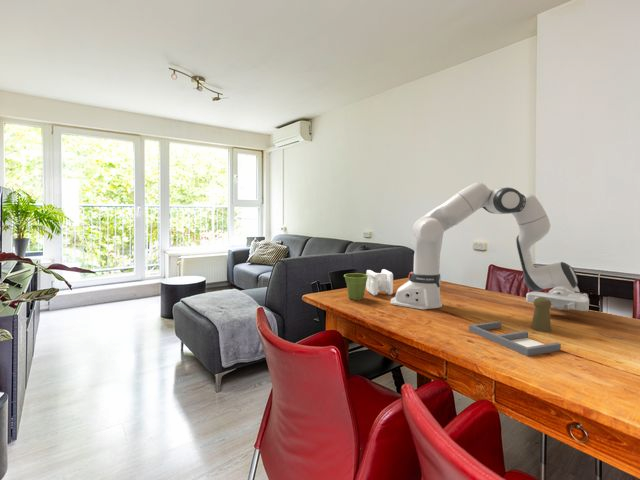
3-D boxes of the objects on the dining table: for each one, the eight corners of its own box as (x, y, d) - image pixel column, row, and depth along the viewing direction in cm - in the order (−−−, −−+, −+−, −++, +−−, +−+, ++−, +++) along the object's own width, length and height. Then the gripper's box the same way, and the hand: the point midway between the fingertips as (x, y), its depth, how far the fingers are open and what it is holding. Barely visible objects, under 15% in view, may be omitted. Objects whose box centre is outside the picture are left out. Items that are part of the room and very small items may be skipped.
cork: (527, 326, 123) (528, 296, 122) (542, 326, 124) (544, 296, 123) (539, 332, 117) (540, 300, 116) (555, 331, 118) (557, 300, 117)
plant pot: (339, 297, 167) (339, 274, 166) (360, 294, 172) (360, 272, 171) (351, 302, 156) (351, 278, 156) (373, 299, 161) (373, 276, 161)
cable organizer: (393, 296, 168) (394, 273, 167) (373, 297, 167) (373, 273, 166) (384, 290, 183) (384, 268, 182) (364, 290, 181) (365, 269, 180)
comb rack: (498, 326, 123) (498, 321, 123) (560, 350, 101) (560, 343, 101) (468, 330, 118) (469, 325, 118) (527, 356, 97) (527, 349, 97)
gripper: (531, 286, 145) (521, 291, 135) (592, 294, 130) (585, 300, 120) (531, 301, 145) (520, 307, 136) (591, 310, 130) (584, 318, 121)
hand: (551, 304), depth 128 cm, fingers open, 8 cm apart
